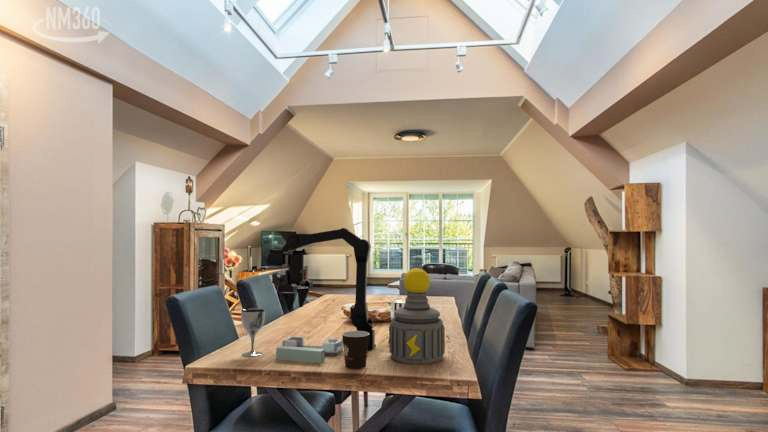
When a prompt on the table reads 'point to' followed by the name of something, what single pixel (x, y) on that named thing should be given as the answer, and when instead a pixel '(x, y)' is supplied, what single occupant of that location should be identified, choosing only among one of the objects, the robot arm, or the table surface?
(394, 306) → the beer glass
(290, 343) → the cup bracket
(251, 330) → the wine glass
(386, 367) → the table surface
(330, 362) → the table surface
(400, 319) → the decorative lamp
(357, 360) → the coffee mug
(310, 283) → the robot arm
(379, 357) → the table surface
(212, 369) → the table surface
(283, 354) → the rail
